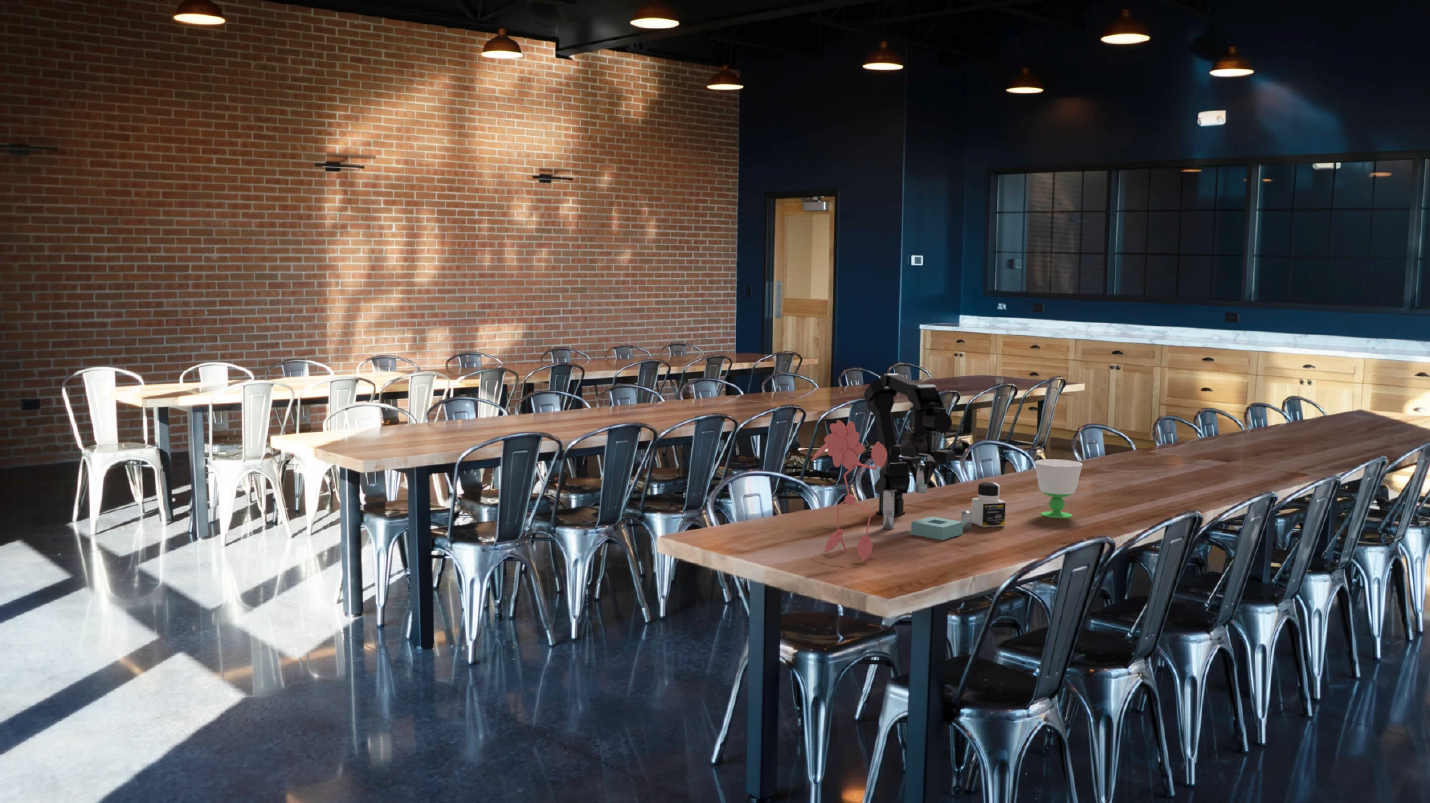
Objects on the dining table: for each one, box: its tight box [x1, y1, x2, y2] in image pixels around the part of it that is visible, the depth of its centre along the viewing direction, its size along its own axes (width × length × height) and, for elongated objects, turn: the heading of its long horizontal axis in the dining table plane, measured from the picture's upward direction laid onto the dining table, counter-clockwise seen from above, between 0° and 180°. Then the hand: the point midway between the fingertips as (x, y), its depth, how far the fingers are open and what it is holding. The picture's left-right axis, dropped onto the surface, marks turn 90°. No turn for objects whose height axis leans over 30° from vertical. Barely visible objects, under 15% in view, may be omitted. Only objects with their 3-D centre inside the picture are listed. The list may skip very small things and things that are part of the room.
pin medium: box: [915, 463, 928, 494], centre depth 328 cm, size 3×3×8 cm
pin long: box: [882, 490, 895, 530], centre depth 324 cm, size 3×3×10 cm
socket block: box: [910, 516, 964, 541], centre depth 317 cm, size 10×10×4 cm
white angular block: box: [970, 481, 1007, 528], centre depth 331 cm, size 7×7×12 cm
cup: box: [1034, 458, 1083, 519], centre depth 344 cm, size 14×14×16 cm
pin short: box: [960, 510, 973, 531], centre depth 324 cm, size 3×3×5 cm
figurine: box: [810, 419, 887, 569], centre depth 287 cm, size 15×26×35 cm, turn 40°
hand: (921, 483), depth 328 cm, fingers closed on pin medium, 3 cm apart
